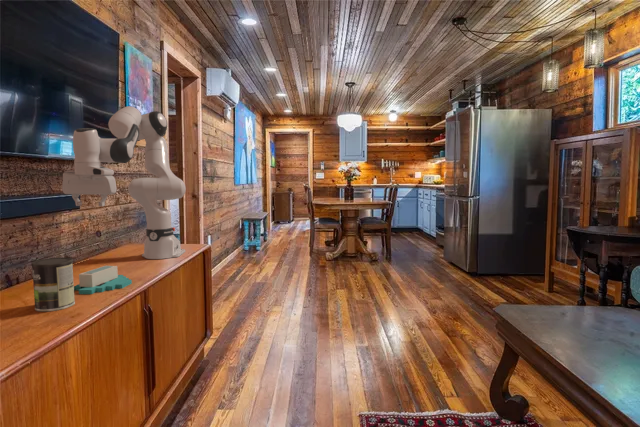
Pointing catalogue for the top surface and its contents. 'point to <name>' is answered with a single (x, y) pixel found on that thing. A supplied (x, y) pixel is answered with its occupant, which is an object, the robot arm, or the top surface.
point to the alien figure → (105, 285)
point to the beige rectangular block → (98, 276)
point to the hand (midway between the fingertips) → (90, 205)
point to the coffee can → (53, 284)
